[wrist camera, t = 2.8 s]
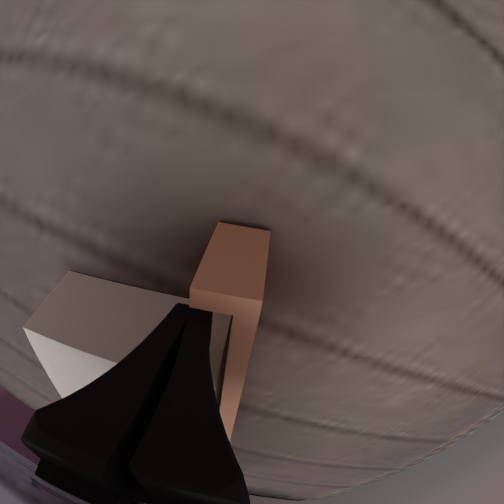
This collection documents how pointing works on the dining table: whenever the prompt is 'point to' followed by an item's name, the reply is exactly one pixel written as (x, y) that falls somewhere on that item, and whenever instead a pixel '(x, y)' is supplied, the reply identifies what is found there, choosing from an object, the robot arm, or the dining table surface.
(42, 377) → the dining table surface
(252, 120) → the dining table surface
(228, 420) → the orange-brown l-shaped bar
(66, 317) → the camera case
